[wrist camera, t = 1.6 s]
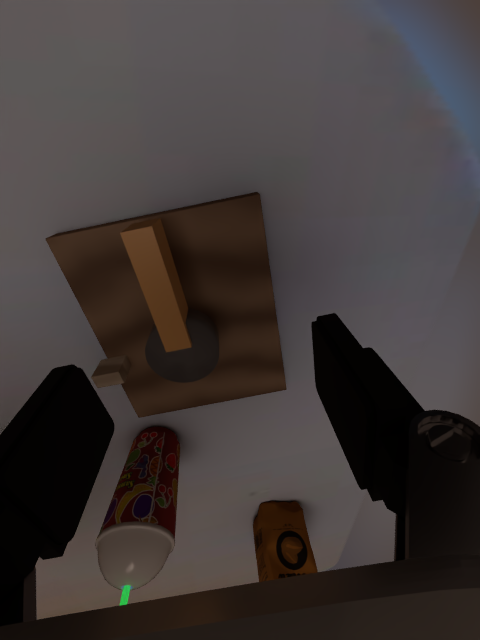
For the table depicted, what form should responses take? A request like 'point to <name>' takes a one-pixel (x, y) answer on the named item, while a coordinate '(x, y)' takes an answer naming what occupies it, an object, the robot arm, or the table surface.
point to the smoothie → (141, 513)
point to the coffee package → (282, 541)
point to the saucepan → (170, 309)
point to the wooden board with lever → (200, 293)
